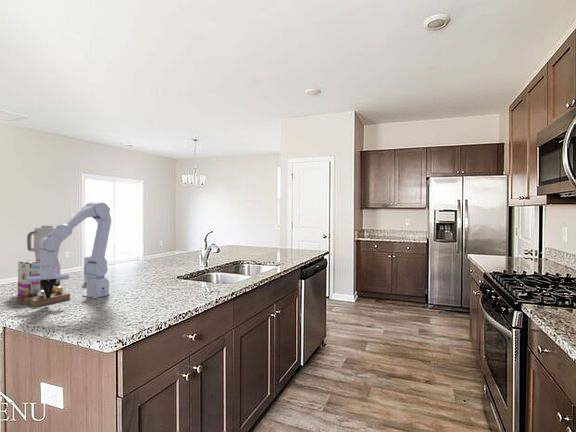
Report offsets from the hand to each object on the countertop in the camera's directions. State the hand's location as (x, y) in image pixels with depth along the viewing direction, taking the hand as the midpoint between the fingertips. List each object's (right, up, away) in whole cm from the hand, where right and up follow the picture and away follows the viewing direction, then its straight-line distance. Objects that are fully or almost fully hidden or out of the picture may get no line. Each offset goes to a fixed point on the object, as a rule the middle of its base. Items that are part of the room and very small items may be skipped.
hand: (48, 297), depth 140 cm
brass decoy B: (-6, +1, +11) cm, 13 cm away
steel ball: (-4, +1, +2) cm, 5 cm away
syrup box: (-9, -3, +47) cm, 48 cm away
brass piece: (-2, +1, +9) cm, 9 cm away
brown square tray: (-7, -3, +6) cm, 10 cm away
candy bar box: (-18, -3, +13) cm, 23 cm away
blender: (-29, -3, +36) cm, 46 cm away
